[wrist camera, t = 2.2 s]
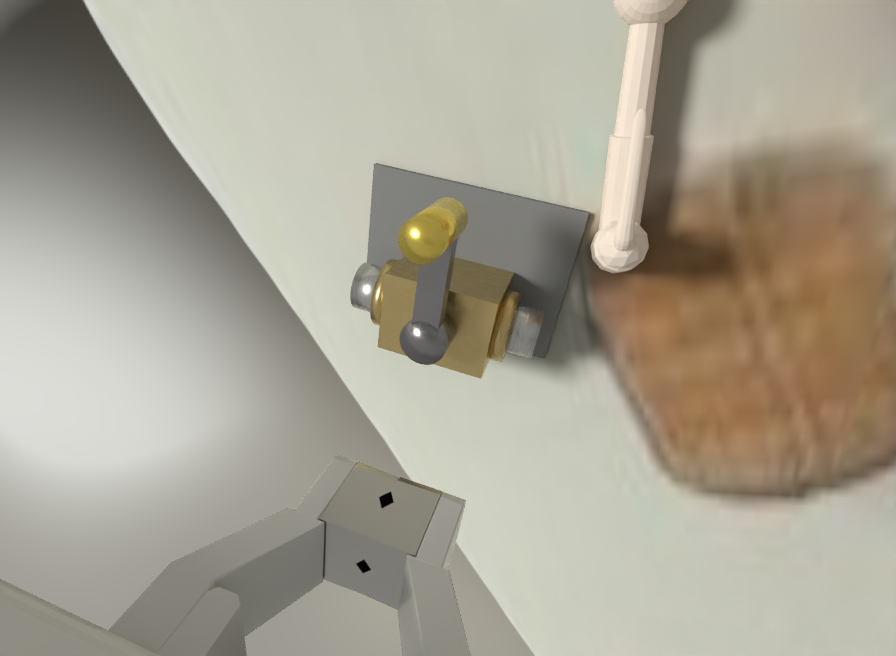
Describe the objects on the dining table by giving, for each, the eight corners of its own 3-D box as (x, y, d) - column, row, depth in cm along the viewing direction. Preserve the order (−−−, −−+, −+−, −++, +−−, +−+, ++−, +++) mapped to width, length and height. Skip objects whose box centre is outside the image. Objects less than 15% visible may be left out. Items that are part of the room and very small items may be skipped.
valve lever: (451, 354, 33) (425, 398, 28) (409, 341, 34) (376, 383, 29) (479, 202, 28) (453, 226, 23) (428, 190, 28) (392, 211, 24)
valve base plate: (589, 212, 33) (589, 213, 32) (545, 355, 38) (544, 358, 38) (376, 163, 35) (373, 164, 35) (365, 303, 41) (364, 305, 41)
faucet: (680, -7, 30) (721, -131, 20) (642, 275, 32) (664, 279, 23) (612, -2, 31) (622, -117, 21) (582, 270, 34) (579, 273, 24)
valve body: (553, 282, 35) (543, 316, 30) (534, 349, 38) (522, 391, 33) (380, 237, 38) (344, 262, 33) (374, 303, 41) (341, 335, 36)
